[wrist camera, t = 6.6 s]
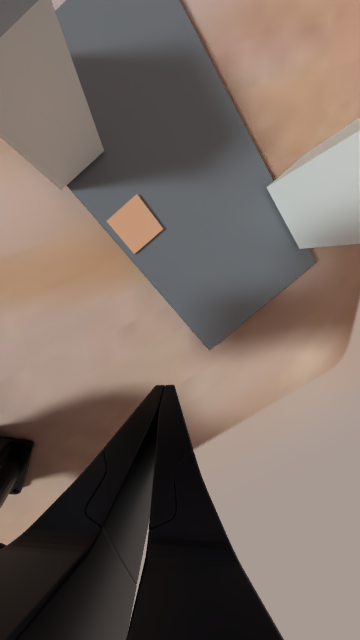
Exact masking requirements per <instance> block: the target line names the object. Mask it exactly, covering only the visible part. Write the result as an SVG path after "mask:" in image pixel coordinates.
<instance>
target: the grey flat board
mask: <svg viewBox="0 0 360 640" xmlns="http://www.w3.org/2000/svg"><path fill="white" fill-rule="evenodd" d="M55 13H56V16H57V19H58V21H59V24H60V27H61V30H62V33H63V36H64V38H65V41H66V44H67V47H68V50H69V53H70V55H71V58H72V61H73V64H74V67H75V70H76V72H77V75H78V78H79V81H80V84H81V87H82V89H83V92H84V95H85V98H86V101H87V104H88V106H89V109H90V112H91V115H92V118H93V121H94V123H95V126H96V129H97V132H98V135H99V138H100V140H101V143H102V146H103V149H104V152H102V153H101V154H100V155H99V156H98V157H97V158H96V159H95V160H94V161H93V162H92V163H90V164H89V165H88V166H87V167H86V168H85V169H84V170H83V171H82V172H81V173H79V174H78V175H77V176H76V177H75V178H74V179H73V180H72V181H71V182H70V183H69V184H67V186H68V188H69V189H70V190H71V191H72V192H73V193H74V194H75V196H76V197H77V198H78V199H79V200H80V201H81V203H82V204H83V205H84V206H85V207H86V208H87V209H88V211H89V212H90V213H91V214H92V215H93V216H94V218H95V219H96V220H97V221H98V222H99V223H100V225H101V226H102V227H103V228H104V229H105V230H106V231H107V233H108V234H109V235H110V236H111V237H112V238H113V240H114V241H115V242H116V243H117V244H118V245H119V247H120V248H121V249H122V250H123V251H124V252H125V253H126V255H127V256H128V257H129V258H130V259H131V260H132V262H133V263H134V264H135V265H136V266H137V267H138V268H139V270H140V271H141V272H142V273H143V274H144V275H145V277H146V278H147V279H148V280H149V281H150V282H151V284H152V285H153V286H154V287H155V288H156V289H157V290H158V292H159V293H160V294H161V295H162V296H163V297H164V299H165V300H166V301H167V302H168V303H169V304H170V306H171V307H172V308H173V309H174V310H175V311H176V312H177V314H178V315H179V316H180V317H181V318H182V319H183V321H184V322H185V323H186V324H187V325H188V326H189V327H190V329H191V330H192V331H193V332H194V333H195V334H196V336H197V337H198V338H199V339H200V340H201V341H202V343H203V344H204V345H205V346H206V347H207V348H208V349H209V350H211V349H212V348H213V347H214V346H216V345H217V344H218V343H219V342H220V341H222V340H223V339H224V338H225V337H226V336H228V335H229V334H230V333H231V332H232V331H234V330H235V329H236V328H237V327H238V326H240V325H241V324H242V323H243V322H244V321H246V320H247V319H248V318H249V317H250V316H252V315H253V314H254V313H255V312H257V311H258V310H259V309H260V308H261V307H263V306H264V305H265V304H266V303H267V302H269V301H270V300H271V299H272V298H273V297H275V296H276V295H277V294H278V293H279V292H281V291H282V290H283V289H284V288H285V287H287V286H288V285H289V284H290V283H292V282H293V281H294V280H295V279H296V278H298V277H299V276H300V275H301V274H302V273H304V272H305V271H306V270H307V269H308V268H310V267H311V266H312V265H313V264H314V263H316V261H315V259H314V257H313V255H312V253H311V252H310V250H309V248H305V249H299V247H298V245H297V243H296V241H295V240H294V238H293V236H292V234H291V232H290V230H289V228H288V227H287V225H286V223H285V221H284V219H283V217H282V215H281V214H280V212H279V210H278V208H277V206H276V204H275V202H274V201H273V199H272V197H271V195H270V193H269V191H268V189H267V188H266V187H267V186H269V185H270V184H271V183H272V182H273V179H272V177H271V175H270V173H269V171H268V169H267V167H266V165H265V163H264V161H263V159H262V158H261V156H260V154H259V152H258V150H257V148H256V146H255V144H254V142H253V140H252V138H251V136H250V135H249V133H248V131H247V129H246V127H245V125H244V123H243V121H242V119H241V117H240V115H239V113H238V112H237V110H236V108H235V106H234V104H233V102H232V100H231V98H230V96H229V94H228V92H227V90H226V88H225V87H224V85H223V83H222V81H221V79H220V77H219V75H218V73H217V71H216V69H215V67H214V65H213V64H212V62H211V60H210V58H209V56H208V54H207V52H206V50H205V48H204V46H203V44H202V42H201V41H200V39H199V37H198V35H197V33H196V31H195V29H194V27H193V25H192V23H191V21H190V19H189V18H188V16H187V14H186V12H185V10H184V8H183V6H182V4H181V2H180V0H66V1H65V2H64V3H63V4H62V5H61V6H60V7H59V8H58V9H57V10H56V11H55Z"/></svg>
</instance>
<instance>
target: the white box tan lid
mask: <svg viewBox="0 0 360 640" xmlns="http://www.w3.org/2000/svg"><path fill="white" fill-rule="evenodd" d="M266 188H267V189H268V191H269V193H270V195H271V197H272V199H273V201H274V202H275V204H276V206H277V208H278V210H279V212H280V214H281V215H282V217H283V219H284V221H285V223H286V225H287V227H288V228H289V230H290V232H291V234H292V236H293V238H294V240H295V241H296V243H297V245H298V247H299V249H305V248H317V247H329V246H340V245H352V244H360V117H359V118H358V119H356V120H355V121H353V122H352V123H350V124H349V125H347V126H346V127H344V128H343V129H341V130H340V131H338V132H337V133H335V134H334V135H332V136H331V137H329V138H328V139H327V140H325V141H324V142H322V143H321V144H319V145H318V146H316V147H315V148H313V149H312V150H310V151H309V152H307V153H306V154H305V155H303V156H302V157H301V158H300V159H299V160H298V161H296V162H295V163H294V164H293V165H292V166H291V167H289V168H288V169H287V170H286V171H285V172H284V173H283V174H281V175H280V176H279V177H278V178H277V179H276V180H274V181H273V182H272V183H271V184H270V185H269V186H267V187H266Z"/></svg>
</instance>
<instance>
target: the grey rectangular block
mask: <svg viewBox="0 0 360 640" xmlns="http://www.w3.org/2000/svg"><path fill="white" fill-rule="evenodd" d="M0 137H1V138H2V139H3V140H5V141H6V142H7V143H8V144H9V145H10V146H11V147H13V148H14V149H15V150H16V151H17V152H18V153H19V154H21V155H22V156H23V157H24V158H25V159H26V160H27V161H28V162H30V163H31V164H32V165H33V166H34V167H35V168H36V169H38V170H39V171H40V172H41V173H42V174H43V175H44V176H46V177H47V178H48V179H49V180H50V181H51V182H52V183H54V184H55V185H56V186H57V187H58V188H59V189H60V190H62V189H63V188H64V187H65V186H66V185H67V184H69V183H70V182H71V181H72V180H73V179H74V178H75V177H76V176H77V175H78V174H79V173H81V172H82V171H83V170H84V169H85V168H86V167H87V166H88V165H89V164H90V163H92V162H93V161H94V160H95V159H96V158H97V157H98V156H99V155H100V154H101V153H102V152H104V149H103V146H102V143H101V140H100V138H99V135H98V132H97V129H96V126H95V123H94V121H93V118H92V115H91V112H90V109H89V106H88V104H87V101H86V98H85V95H84V92H83V89H82V87H81V84H80V81H79V78H78V75H77V72H76V70H75V67H74V64H73V61H72V58H71V55H70V53H69V50H68V47H67V44H66V41H65V38H64V36H63V33H62V30H61V27H60V24H59V21H58V19H57V16H56V13H55V10H54V7H53V4H52V2H51V0H0Z"/></svg>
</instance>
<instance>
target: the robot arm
mask: <svg viewBox="0 0 360 640" xmlns="http://www.w3.org/2000/svg"><path fill="white" fill-rule="evenodd" d="M27 446H28V447H27ZM33 448H34V443H33V442H32V441H29V440H22V439H15V438H8V437H0V508H1V506H2V505H3V503H4V501H5V500H6V498H7V496H8V494H19V493H20V492H21V490H22V488H23V486H24V482H25V478H26V474H27V470H28V467H29V463H30V459H31V455H32V452H33ZM149 518H150V521H149ZM149 522H150V523H149ZM148 524H149V534H148V544H147V551H146V558H145V563H144V567H143V571H142V575H141V580H140V584H139V588H138V592H137V596H136V601H135V605H134V609H133V613H132V607H133V602H134V597H135V592H136V584H137V580H138V575H139V571H140V565H141V560H142V555H143V550H144V544H145V539H146V534H147V529H148ZM131 613H132V617H131ZM130 618H131V621H130ZM129 623H130V625H129ZM128 628H129V630H128ZM127 633H128V634H127ZM0 640H284V639H283V637H282V636H281V634H280V633H279V631H278V629H277V627H276V625H275V623H274V622H273V620H272V618H271V617H270V615H269V613H268V611H267V610H266V608H265V606H264V604H263V603H262V601H261V599H260V597H259V596H258V594H257V592H256V590H255V589H254V587H253V585H252V583H251V582H250V580H249V578H248V576H247V575H246V573H245V571H244V569H243V568H242V566H241V564H240V562H239V560H238V558H237V556H236V554H235V552H234V550H233V548H232V546H231V544H230V542H229V539H228V537H227V535H226V532H225V530H224V528H223V525H222V523H221V521H220V519H219V516H218V514H217V512H216V509H215V507H214V505H213V503H212V500H211V498H210V496H209V493H208V491H207V489H206V486H205V483H204V481H203V479H202V476H201V473H200V470H199V467H198V464H197V461H196V457H195V454H194V452H193V447H192V444H191V440H190V437H189V434H188V430H187V427H186V423H185V420H184V417H183V413H182V410H181V406H180V403H179V399H178V396H177V393H176V389H175V386H174V385H166V386H164V385H156V386H155V387H154V388H153V389H152V391H151V392H150V393H149V394H148V395H147V397H146V398H145V399H144V400H143V401H142V403H141V404H140V405H139V406H138V407H137V409H136V410H135V411H134V412H133V413H132V415H131V416H130V417H129V418H128V419H127V421H126V422H125V423H124V424H123V426H122V427H121V428H120V429H119V430H118V432H117V433H116V434H115V435H114V436H113V438H112V439H111V440H110V441H109V442H108V444H107V445H106V446H105V447H104V449H103V450H102V451H101V452H100V453H99V454H98V455H97V457H96V458H95V459H94V460H93V461H92V463H91V464H90V465H89V466H88V467H87V468H86V469H85V471H84V472H83V473H82V474H81V475H80V476H79V477H78V478H77V479H76V480H75V481H74V482H73V483H72V485H71V486H70V487H69V488H68V489H67V490H66V491H65V492H64V493H63V494H62V495H61V496H60V497H59V498H58V499H57V500H56V501H55V502H54V503H53V504H52V505H51V506H50V507H49V508H48V509H47V510H46V511H45V512H44V513H43V514H42V515H41V516H40V517H39V518H38V519H37V520H36V521H35V522H34V523H33V524H32V525H31V526H30V527H29V528H28V529H27V530H26V531H25V532H24V533H23V534H22V535H20V536H19V537H18V538H17V539H15V540H14V541H13V542H11V543H10V544H8V545H4V544H2V543H0Z"/></svg>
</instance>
